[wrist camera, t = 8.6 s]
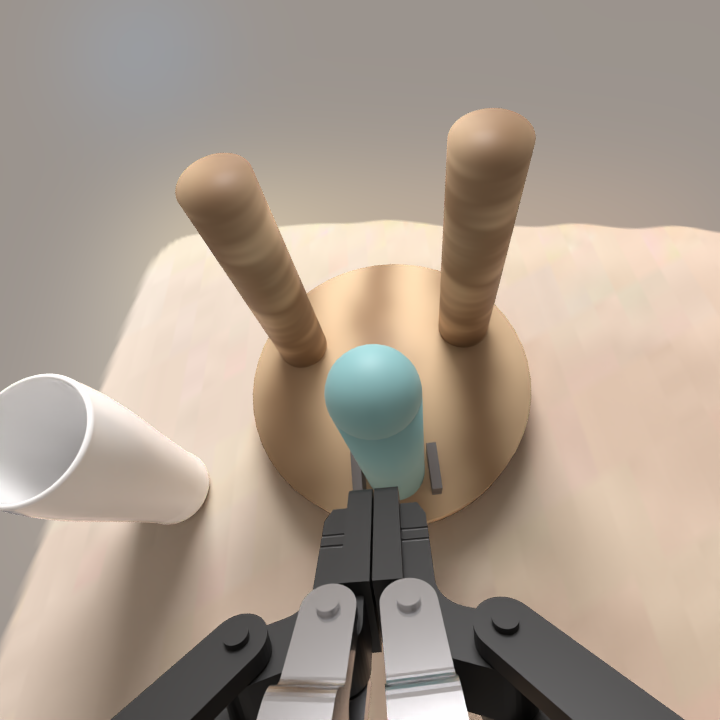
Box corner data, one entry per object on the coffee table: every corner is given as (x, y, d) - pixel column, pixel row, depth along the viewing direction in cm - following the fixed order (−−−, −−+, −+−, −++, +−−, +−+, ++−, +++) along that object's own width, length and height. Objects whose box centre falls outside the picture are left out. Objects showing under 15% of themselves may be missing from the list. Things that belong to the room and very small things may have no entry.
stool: (494, 270, 40) (548, 27, 22) (552, 514, 31) (718, 440, 13) (266, 301, 41) (147, 99, 24) (264, 540, 33) (75, 506, 15)
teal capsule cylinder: (421, 446, 31) (414, 319, 16) (428, 501, 29) (428, 417, 15) (367, 452, 31) (313, 332, 16) (372, 507, 30) (316, 430, 15)
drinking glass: (234, 455, 36) (117, 384, 22) (201, 546, 33) (47, 530, 20) (158, 436, 37) (6, 360, 24) (121, 522, 35) (-73, 492, 21)
